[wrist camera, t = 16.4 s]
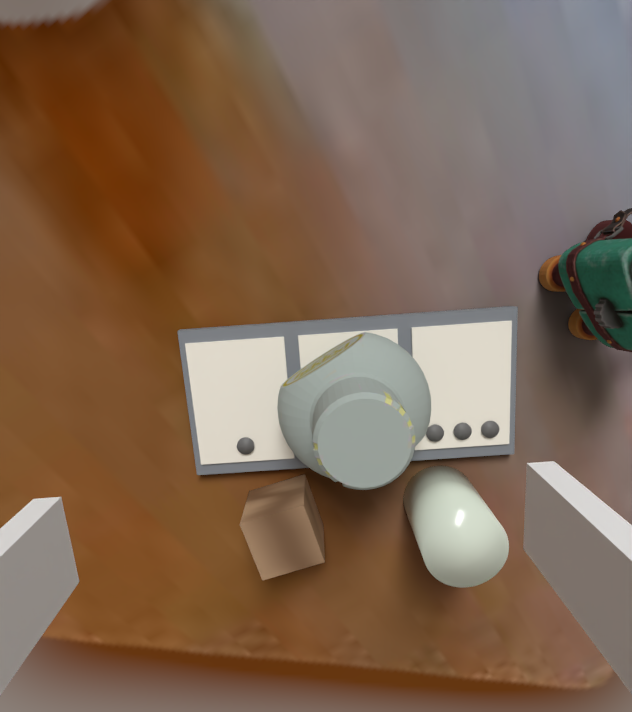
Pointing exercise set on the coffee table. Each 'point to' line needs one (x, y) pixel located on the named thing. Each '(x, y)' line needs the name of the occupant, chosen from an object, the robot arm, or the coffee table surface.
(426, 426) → the air freshener
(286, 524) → the walnut block
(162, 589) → the coffee table surface
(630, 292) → the binoculars
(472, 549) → the pale green capsule
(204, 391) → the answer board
